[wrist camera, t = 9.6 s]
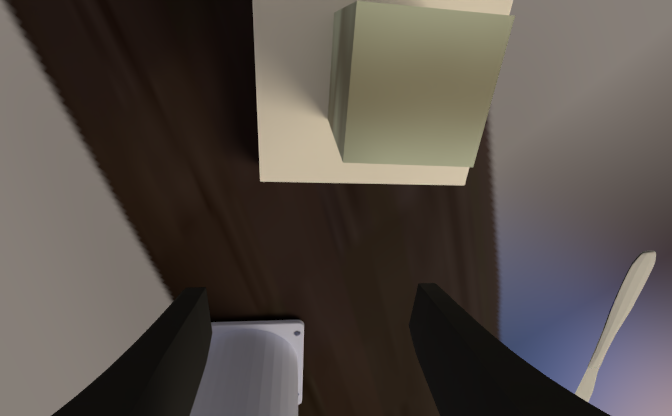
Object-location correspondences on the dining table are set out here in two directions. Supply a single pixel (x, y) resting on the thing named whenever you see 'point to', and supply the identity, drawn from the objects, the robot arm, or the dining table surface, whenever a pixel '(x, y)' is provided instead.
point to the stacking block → (413, 82)
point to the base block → (321, 95)
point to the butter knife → (617, 317)
